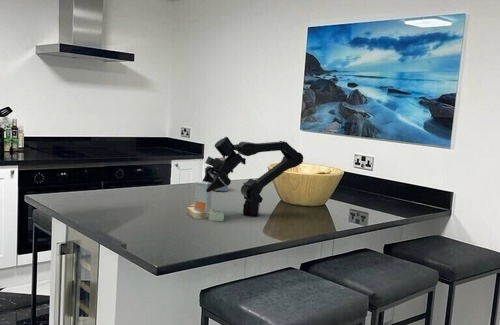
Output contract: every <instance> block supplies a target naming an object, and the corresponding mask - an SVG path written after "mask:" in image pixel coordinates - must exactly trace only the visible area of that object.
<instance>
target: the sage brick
mask: <svg viewBox="0 0 500 325" xmlns="http://www.w3.org/2000/svg"><path fill="white" fill-rule="evenodd" d="M224 218H225V214H224V212H222V211H221V212H219V211H216V212H209V215H208V218H207V220H208V221H210V222H211V221H213V222H215V221H217V222H220V221H221V222H224Z"/></svg>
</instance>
